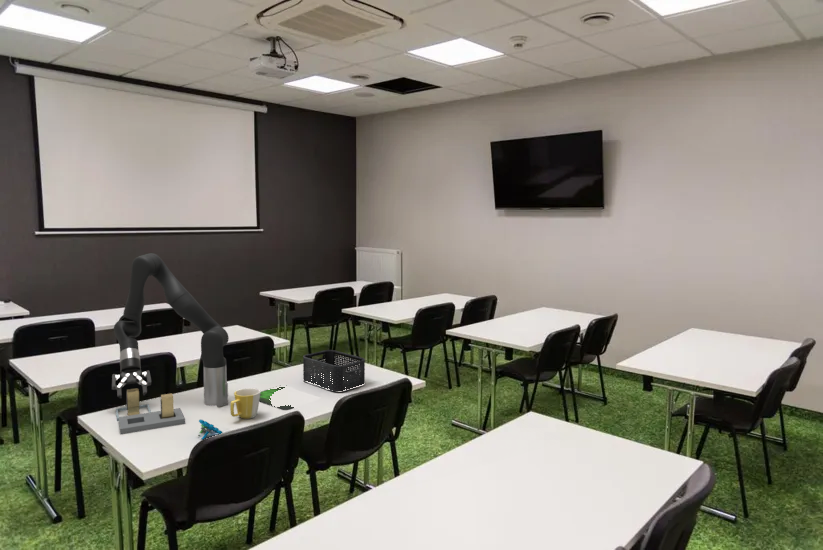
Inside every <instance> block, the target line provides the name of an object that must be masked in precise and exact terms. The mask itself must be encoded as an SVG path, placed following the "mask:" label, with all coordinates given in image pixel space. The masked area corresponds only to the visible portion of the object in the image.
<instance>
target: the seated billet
mask: <svg viewBox="0 0 823 550" xmlns="http://www.w3.org/2000/svg"><path fill="white" fill-rule="evenodd" d="M174 407H175V406H174V395H173V393H167V394H166V393H164V394H160V411H161V419H164V418H171V417H174V409H175V408H174Z"/></svg>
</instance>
